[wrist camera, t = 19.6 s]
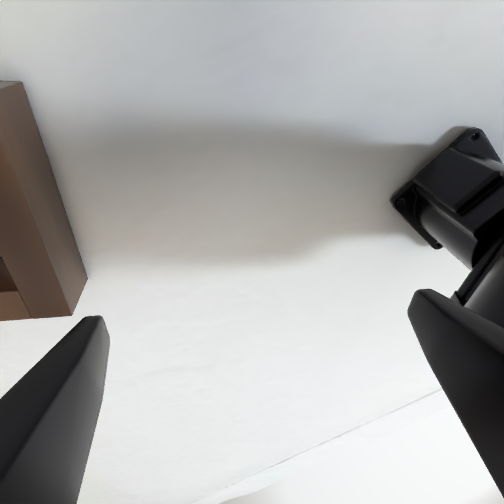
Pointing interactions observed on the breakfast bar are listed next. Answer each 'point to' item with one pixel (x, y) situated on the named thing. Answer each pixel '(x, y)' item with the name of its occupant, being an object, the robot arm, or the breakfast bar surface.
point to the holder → (32, 221)
